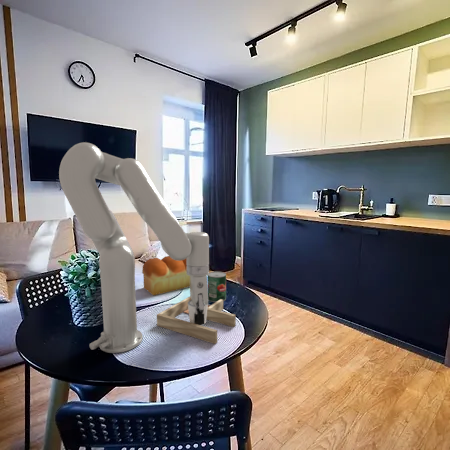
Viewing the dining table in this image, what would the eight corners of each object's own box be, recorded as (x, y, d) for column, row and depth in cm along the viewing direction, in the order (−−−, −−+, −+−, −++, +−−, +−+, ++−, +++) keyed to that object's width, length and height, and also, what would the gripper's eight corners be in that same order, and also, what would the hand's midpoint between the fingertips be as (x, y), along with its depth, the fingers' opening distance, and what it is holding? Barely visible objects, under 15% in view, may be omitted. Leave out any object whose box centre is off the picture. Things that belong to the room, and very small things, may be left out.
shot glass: (206, 326, 94) (206, 306, 93) (186, 326, 94) (186, 306, 93) (208, 317, 100) (208, 298, 99) (189, 317, 101) (189, 298, 100)
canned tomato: (208, 295, 126) (208, 271, 124) (226, 295, 125) (226, 271, 124) (206, 302, 118) (206, 276, 117) (225, 302, 118) (225, 277, 116)
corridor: (215, 344, 86) (215, 331, 86) (157, 325, 98) (156, 314, 97) (247, 315, 106) (247, 305, 105) (195, 302, 118) (195, 293, 117)
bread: (188, 278, 150) (188, 250, 148) (201, 284, 140) (200, 255, 138) (142, 288, 135) (141, 257, 133) (152, 296, 125) (151, 263, 123)
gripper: (214, 276, 87) (214, 331, 90) (204, 262, 104) (204, 309, 106) (190, 277, 86) (190, 334, 88) (183, 263, 102) (184, 311, 104)
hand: (197, 320), depth 97 cm, fingers closed on shot glass, 5 cm apart
